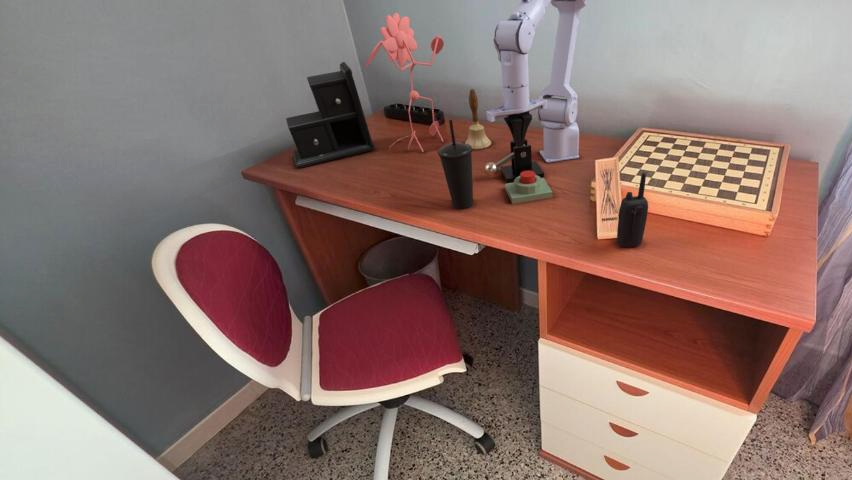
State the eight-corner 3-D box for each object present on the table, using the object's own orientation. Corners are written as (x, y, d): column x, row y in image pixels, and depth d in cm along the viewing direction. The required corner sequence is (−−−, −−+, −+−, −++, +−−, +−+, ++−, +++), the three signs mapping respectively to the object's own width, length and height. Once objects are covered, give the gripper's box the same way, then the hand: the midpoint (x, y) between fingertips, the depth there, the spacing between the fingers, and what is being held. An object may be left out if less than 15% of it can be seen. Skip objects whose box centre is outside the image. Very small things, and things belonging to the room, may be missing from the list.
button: (533, 177, 104) (533, 169, 103) (537, 183, 101) (536, 175, 100) (519, 179, 104) (518, 171, 102) (522, 186, 101) (522, 178, 100)
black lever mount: (506, 183, 109) (504, 152, 104) (500, 170, 115) (498, 140, 110) (544, 177, 110) (543, 146, 105) (536, 165, 117) (535, 135, 111)
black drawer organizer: (296, 169, 125) (261, 83, 110) (293, 157, 132) (260, 75, 117) (375, 151, 132) (352, 68, 117) (368, 140, 139) (346, 61, 124)
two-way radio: (639, 237, 87) (650, 168, 77) (647, 249, 84) (660, 178, 74) (613, 240, 87) (620, 171, 77) (620, 253, 83) (629, 182, 73)
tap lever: (490, 181, 110) (482, 170, 108) (487, 175, 113) (480, 164, 111) (530, 155, 108) (523, 144, 106) (526, 150, 111) (520, 139, 109)
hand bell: (496, 141, 132) (491, 86, 121) (481, 151, 126) (474, 94, 116) (475, 137, 135) (468, 84, 125) (459, 147, 130) (451, 91, 120)
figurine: (462, 133, 139) (445, 6, 116) (405, 163, 123) (373, 23, 101) (428, 126, 146) (406, 5, 123) (370, 153, 130) (333, 20, 108)
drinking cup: (466, 215, 98) (453, 128, 85) (441, 208, 101) (424, 123, 89) (485, 201, 103) (475, 116, 90) (460, 194, 106) (447, 112, 93)
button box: (543, 183, 108) (543, 170, 106) (552, 197, 102) (552, 184, 100) (505, 189, 107) (504, 176, 105) (512, 204, 101) (511, 190, 99)
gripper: (534, 74, 98) (536, 133, 107) (478, 87, 93) (484, 147, 102) (551, 81, 93) (551, 142, 102) (492, 94, 88) (497, 157, 97)
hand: (519, 145), depth 101 cm, fingers closed
